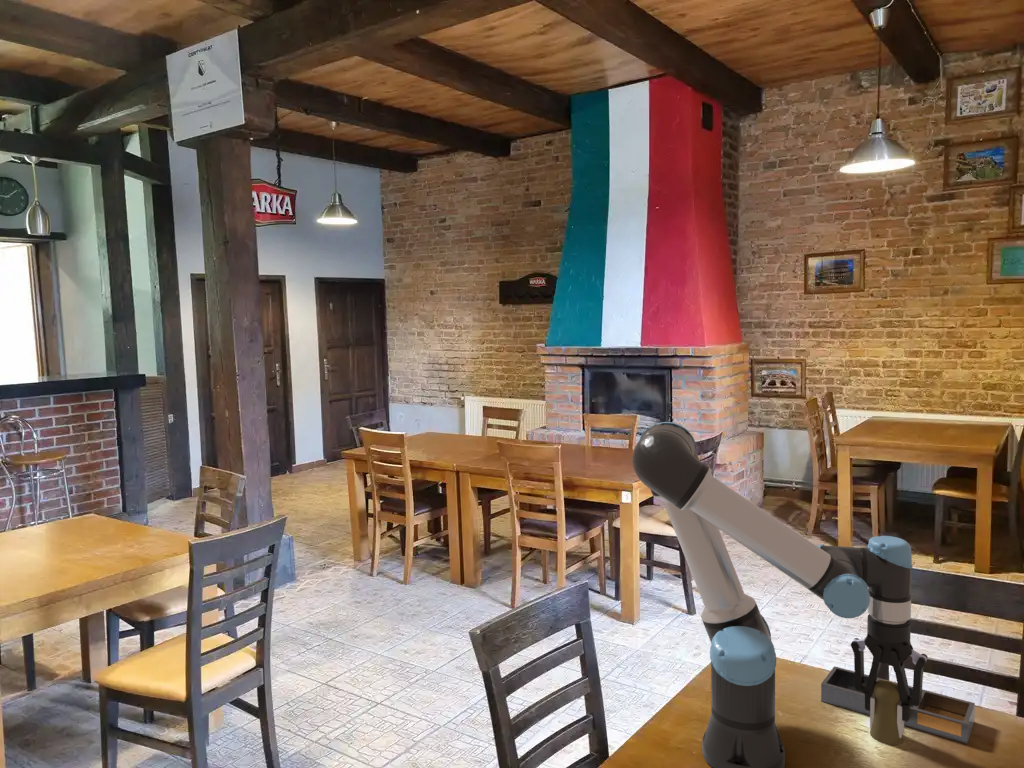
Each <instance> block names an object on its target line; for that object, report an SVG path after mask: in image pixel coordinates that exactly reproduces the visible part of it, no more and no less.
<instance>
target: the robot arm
mask: <svg viewBox="0 0 1024 768" xmlns="http://www.w3.org/2000/svg"><path fill="white" fill-rule="evenodd" d="M631 459H632V467H633V471H634V473H635V475H636V476H637V478H638V479H639V480H640V482H642V484H643V485H644V486H646V487H647V488H648V489H649V490H650V492H651V495H652V497H654V498H655V499H657V500H660V501H662V502H663V505H664V508H665V510H666V513H667V514H668V517H669V520H670V523H671V525H672V527H673V530H674V533H675V536H676V538H677V540H678V543H679V546H680V547H681V550H682V553H683V556H684V558H685V561H686V563H687V566H688V568H689V571H690V573H691V575H692V578H693V580H694V584H695V585H696V588H697V589H696V590H698V593H699V596H700V598H701V600H702V603H703V605H704V607H703V609H702V612H701V614H700V618H701V621H702V623H703V625H704V629H705V632H706V634H707V636H708V639H709V641H710V649H709V659H710V690H711V691H710V693H711V694H710V697H711V698H710V700H711V701H710V702H711V703H710V704H711V705H710V706H711V714H710V716H709V719H708V723H707V727H706V730H705V731H704V734H703V735H702V742H701V743H702V744H701V746H702V747H701V752H702V757H703V759H704V760H705V762H706V763H707V764H708V765H709V766H710V767H711V768H785V765H786V751H785V746H784V744H783V740H782V738H781V735H780V732H779V729H778V726H777V722H776V667H777V655H776V650H775V649H776V648H775V644H774V643H773V641H772V638H771V637H772V635H771V634H772V633H771V629H770V626H769V624H768V623H767V621H766V619H765V617H764V616H763V615H762V614H761V611H760V609H759V607H758V604H757V601H756V600H755V598H754V597H752V596H750V595H749V594H746V593H745V591H744V589H743V586H742V583H741V582H740V579H739V576H738V574H737V571H736V568H735V567H734V564H733V562H732V558H731V556H730V554H729V551H728V549H727V546H726V544H725V541H724V539H723V536H722V534H721V532H723V533H724V534H726V535H727V536H729V537H730V538H732V540H735V541H736V542H738V543H739V544H741V545H742V546H743V547H745V548H746V549H748V550H749V551H751V552H752V553H753V554H755V555H757V556H759V557H760V559H761V558H762V559H763V560H764V561H765V562H767V563H769V564H770V565H772V567H774V568H776V569H777V570H779V571H781V572H782V573H783V574H785V576H786V575H787V576H788V577H789V578H791V579H792V580H794V581H795V582H797V583H798V584H800V586H801V585H802V586H803V587H804V588H805V589H807V590H808V591H810V592H811V593H813V594H814V595H815V596H817V597H818V598H820V599H821V600H823V602H824V604H825V605H826V606H827V608H828V609H829V611H830V612H832V613H833V614H834V615H835V616H837V617H839V618H842V619H854V618H857V617H860V616H862V615H863V614H864V613H865V612H867V613H868V614H867V627H866V628H867V634H866V637H865V638H861V639H859V638H858V637H856V638H854V639H853V640H852V642H851V643H850V648H851V649H852V652H853V659H854V661H853V662H854V663H853V664H854V666H853V668H854V669H853V671H854V672H855V689H856V690H858V691H862V692H863V693H864V694H865V709H866V710H868V711H870V715H869V729H872V724H873V720H874V712H875V701H876V697H875V696H874V693H873V687H874V684H875V683H876V680H877V678H879V677H878V676H879V673H880V669H881V665H882V664H888V665H890V666H891V667H892V668H893V672H894V674H895V679H896V683H897V684H898V688H899V693H900V698H901V701H900V702H899V703H898V705H897V725H898V732H899V738H901V737H902V734H903V735H904V733H905V726H904V721H906V722H908V720H909V718H910V707H911V706H912V705H914V706H919V704H920V702H921V699H922V689H923V679H924V666H925V664H926V663H927V660H928V655H927V654H926V653H922V654H921V653H919V651H916V650H914V648H913V645H912V643H911V629H912V628H911V623H912V622H911V621H910V619H911V618H912V574H913V573H912V571H913V570H912V569H913V558H912V546H911V545H910V543H909V542H908V541H907V540H905V539H903V538H900V537H896V536H891V535H881V536H877V535H876V536H873V537H870V538H869V540H868V544H867V547H855V546H854V547H852V546H838V545H837V546H836V545H825V544H817V545H816V544H814V543H813V542H812V541H810V540H809V539H807V538H805V537H804V536H802V535H801V534H800V533H799V532H797V531H795V530H794V529H792V528H791V527H790V526H788V525H786V524H785V523H783V522H782V521H780V520H779V519H778V518H776V517H774V516H773V515H771V514H770V513H769V512H767V511H765V510H764V509H762V508H761V507H759V506H758V505H757V504H755V503H753V502H752V501H751V500H749V499H747V498H746V497H744V496H743V495H741V494H740V493H738V492H737V491H735V489H733V488H731V487H729V486H728V485H727V484H725V483H723V482H722V481H720V480H719V479H718V478H716V477H714V476H713V474H712V470H711V468H710V467H709V466H708V465H707V464H705V463H703V462H702V461H701V460H700V458H699V455H698V453H697V443H696V440H695V438H694V437H693V435H692V434H691V432H690V431H689V430H688V429H687V428H686V427H684V426H683V425H681V424H679V423H676V422H671V421H664V422H663V421H662V422H658V423H655V424H654V425H652V426H650V427H648V428H647V429H645V430H644V432H643V433H642V434H641V436H640V437H639V440H638V442H637V443H636V445H635V446H634V449H633V453H632V457H631ZM866 648H867V649H868V650H869V652H870V653H871V655H872V656H873V658H872V662H871V665H870V666H871V667H870V671H869V674H868V675H869V677H868V681H867V684H865V683H864V674H865V654H864V653H865V649H866ZM909 657H911V659H912V660H911V661H912V664H914V668H913V678H912V679H913V680H912V687H913V694H912V696H910V691H909V687H908V686H909V682H908V678H907V673H906V669H905V661H906V660H907V659H908V658H909Z"/></svg>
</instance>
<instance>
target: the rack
mask: <svg viewBox="0 0 1024 768" xmlns="http://www.w3.org/2000/svg"><path fill="white" fill-rule="evenodd" d="M868 677H869V674H865V673H864V683H865V684H867V681H868ZM879 680H886V679H884V678H880V677H877V680H876V682H877V681H879ZM894 682H895V683H896V684H897V681H894ZM820 685H821V687H820V688H821V689H820V690H821V694H820V702H822V703H826V704H829V705H832V706H836V707H840V708H843V709H845V710H846V709H847V710H850V711H853V712H857V713H860V714H863V715H867V716H870V711H868V710H866V709H865V694H864V693H863V692H862V691H858V690H856V689H855V671H854V670H851V669H847V668H842V667H838V666H833V667H832V669H830V671H829V672H828V674H827V675H826V677H825V678H824V679H823V680H822V682H821V684H820ZM908 687H909V691H910V696H912V694H913V685H912V686H911V685H908ZM975 704H976V703H975V702H972V701H967V700H964V699H960V698H957V697H954V696H949V695H945V694H942V693H938V692H933V691H930V690H927V689H923V688H922V699H921V702H920V704H919V706H914V705H912V706H911V707H910V718H909V720H908V722H906V721H904V727H907V728H911V729H914V730H918V731H922V732H924V733H928V734H932V735H935V736H938V737H942V738H945V739H949V740H952V741H956V742H958V743H962V744H966V745H968V743H969V740H970V736H971V734H972V730H973V727H974V724H975V716H976V715H975V709H976V705H975Z"/></svg>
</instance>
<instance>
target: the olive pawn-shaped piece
mask: <svg viewBox="0 0 1024 768" xmlns="http://www.w3.org/2000/svg"><path fill="white" fill-rule="evenodd" d="M895 682H896V681H892V680H888V679H885V680H879V681H877V682H876V683H875V684H874V687H873V693H874V696H875V697H876V701H875V712H874V720H873V724H872V729H870V728H869V729H870V730H869V734H870V737H871V738H872V739H874V740H875V741H876V740H877V742H878V743H881V744H884V745H889V746H899V745H901V744H903V743H904V741H905V739H904V737H905V736H904V733H903V734H902V737H901V738H899V732H898V725H897V705H898V703H899V702H900V701H901V698H900V693H899V688H898V684H896V683H897V682H896V683H895Z"/></svg>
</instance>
